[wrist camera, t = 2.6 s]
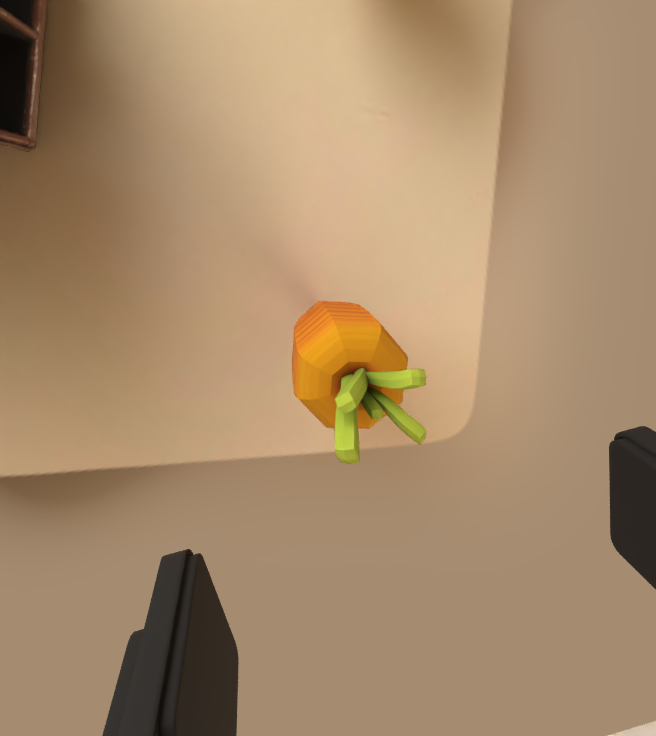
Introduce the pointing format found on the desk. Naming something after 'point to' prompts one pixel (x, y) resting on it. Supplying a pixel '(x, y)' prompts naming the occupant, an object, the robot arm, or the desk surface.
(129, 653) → the robot arm
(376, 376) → the carrot
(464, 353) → the desk surface
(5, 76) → the letter holder
